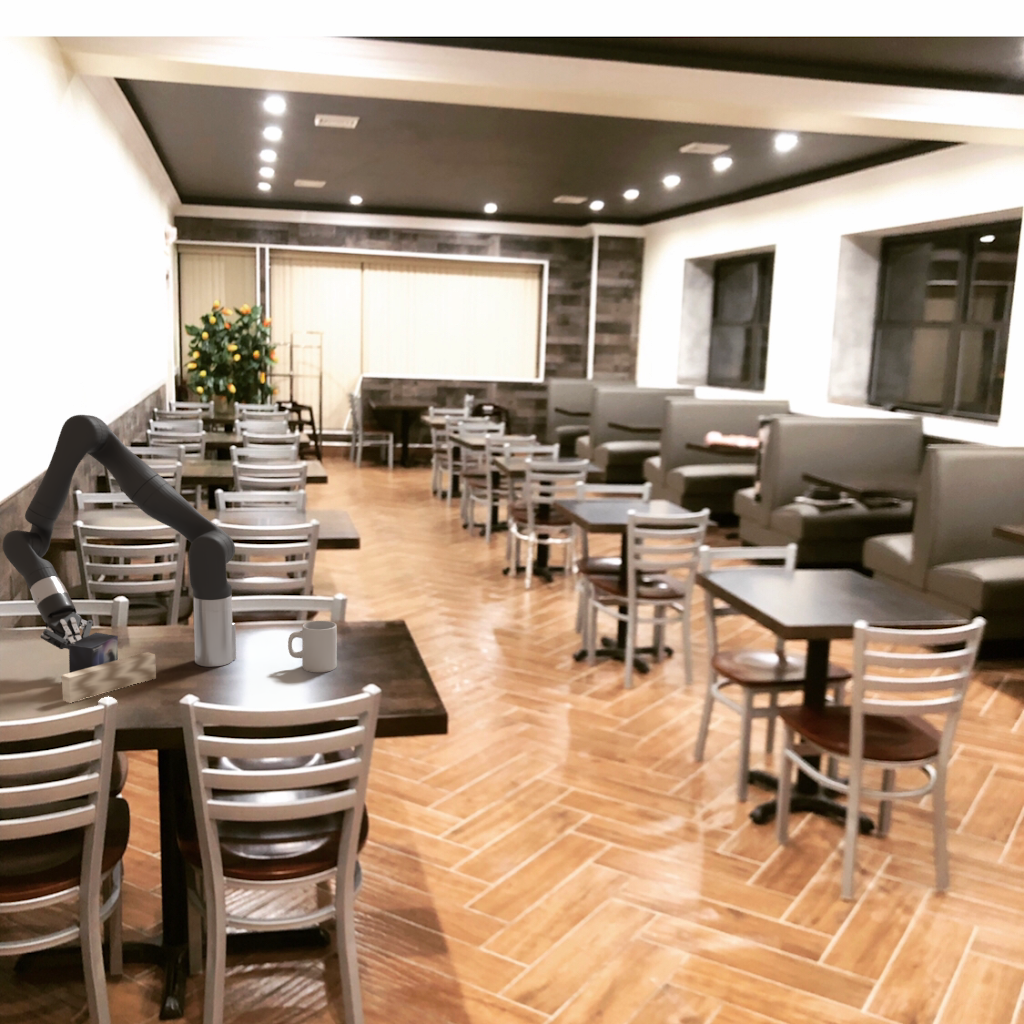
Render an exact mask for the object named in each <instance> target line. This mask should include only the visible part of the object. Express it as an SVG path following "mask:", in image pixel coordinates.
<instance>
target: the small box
mask: <svg viewBox="0 0 1024 1024" xmlns="http://www.w3.org/2000/svg"><path fill="white" fill-rule="evenodd" d="M118 639H119V637H118V635H114V634H107V633H101V632H94V633H92V634H89V636H87V637H85V638H83V639H80V640H78V641H76V642H73V643H71V644H69V650H68V652H69V653H68V656H69V657H68V658H69V659H68V660H69V661H68V662H69V663H68V664H69V668H68V669H69V672H68V673H71V672H75V671H78V670H82V669H86V668H90V667H93V666H97V665H101V664H104V663H108V662H112V661H116V660H119V654H118V653H119V649H118V648H119V647H118V645H119V644H118V643H119V641H118Z"/></svg>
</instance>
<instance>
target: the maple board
mask: <svg viewBox="0 0 1024 1024" xmlns="http://www.w3.org/2000/svg"><path fill="white" fill-rule="evenodd" d="M156 662H157V661H156V654H155V653H151V652H149V651H146V652H142V653H139V654H135V655H131V656H127V657H123V658H120V659H119V658H118V660H116V661H112V662H108V663H104V664H101V665H97V666H93V667H90V668H86V669H82V670H78V671H75V672H71V673H69V672H68V673H64V674H61V687H62V689H61V691H62V701H63V702H65V701H66V703H68V702H69V703H68V704H70V703H71V704H73V703H72V702H74V701H78V700H80V699H83V698H86V697H90V696H94V695H97V694H100V693H102V692H107V691H112V690H115V689H118V688H122V687H125V688H127V687H126V686H129V687H131V686H130V685H132V686H134V685H133V684H136V685H138V684H137V683H139V684H142V683H146V682H148V681H152V679H153V680H155V679H157V670H156V669H157V668H156V666H157V665H156ZM145 681H146V682H145ZM141 682H142V683H141ZM122 689H123V688H122ZM115 691H116V690H115ZM112 692H113V691H112ZM78 702H79V701H78ZM74 703H75V702H74Z"/></svg>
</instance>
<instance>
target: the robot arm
mask: <svg viewBox="0 0 1024 1024" xmlns="http://www.w3.org/2000/svg"><path fill="white" fill-rule="evenodd" d="M87 454H88V455H89V456H91V458H93V459H95V460H96V461H97V462H99V463H100V464H101V465H102V466H103V467H105V469H107V470H108V472H110V474H111V475H112V477H113V478H114V480H115V481H116V483H117V485H118V487H119V488H120V489H121V491H122V492H123V493H124V494H125V496H126V497H127V498H128V499H129V500H130V501H131V502H133V504H134V505H136V507H138V508H139V510H141V511H142V512H144V514H146V515H147V516H149V517H150V518H151V519H153V520H155V521H158V522H159V523H161V524H164V525H165V526H168V527H170V528H171V529H173V530H175V532H176V531H177V532H178V533H180V534H181V535H182V536H183V537H184V538H185V539H186V540H187V541H188V542H189V543H190V546H189V551H188V569H189V571H188V572H189V582H190V586H191V589H192V591H193V592H192V593H193V594H192V595H193V629H194V630H193V631H194V633H193V635H194V663H195V664H196V665H198V666H201V667H209V668H211V667H212V668H213V667H222V666H225V665H228V664H231V663H232V662H233V661H234V660H236V659H237V643H236V642H237V639H236V638H237V636H236V635H237V634H236V623H235V622H233V600H232V598H233V596H232V593H233V592H232V590H233V589H232V584H231V583H230V582H229V581H228V577H227V564H228V563H229V562H230V561H232V560H233V558H234V556H235V553H236V546H235V543H234V541H233V538H232V537H231V536H230V535H229V534H228V533H227V532H226V531H224V530H223V529H222V528H221V527H219V526H217V524H215V523H213V522H212V521H211V520H209V519H208V518H207V517H206V516H204V515H203V514H202V513H200V511H198V510H197V509H196V508H195V507H193V505H192V504H191V503H190V502H189V501H188V500H186V498H184V497H183V495H181V494H180V493H179V491H177V490H176V489H175V488H174V487H173V486H172V485H171V484H170V483H169V482H168V481H167V480H166V479H164V478H163V477H162V476H161V475H160V474H159V473H158V472H157V471H155V470H154V469H153V468H152V467H151V466H150V465H149V464H147V463H146V462H145V461H144V460H142V459H141V458H140V457H138V456H137V455H136V454H135V453H133V451H131V450H130V449H129V447H127V446H126V445H125V444H124V443H123V441H122V440H121V439H120V438H119V437H118V436H117V435H116V434H115V433H114V431H112V429H111V428H110V427H109V425H107V423H105V421H103V420H102V419H101V418H99V417H97V416H95V415H89V414H88V415H87V414H76V415H75V414H74V415H73V416H70V417H69V418H68V419H66V420H65V421H64V423H63V425H62V427H61V430H60V433H59V436H58V438H57V442H56V445H55V448H54V451H53V454H52V457H51V460H50V462H49V465H48V468H47V469H46V472H45V474H44V476H43V478H42V481H41V482H40V484H39V486H38V488H37V490H36V492H35V494H34V496H33V497H32V499H31V501H30V503H29V504H28V507H27V509H26V511H25V513H24V518H25V520H26V521H27V523H29V524H31V527H30V531H27V530H21V529H20V530H18V529H17V530H15V529H14V530H11V531H9V532H7V533H6V534H5V536H4V537H3V540H2V549H3V550H2V551H3V554H4V556H5V558H6V560H8V562H9V563H11V565H12V566H13V567H14V569H15V570H16V571H17V572H18V573H19V574H20V575H21V576H22V577H23V579H24V580H25V581H24V582H25V583H26V585H27V587H28V589H29V591H30V594H31V597H32V600H33V603H34V605H35V606H36V608H37V610H38V612H39V613H40V616H41V618H42V620H43V621H44V623H45V629H44V630H43V631H42V633H41V634H40V636H39V637H40V638H41V639H42V640H43V641H46V642H47V643H49V644H51V645H52V646H55V647H56V648H58V649H59V650H64V649H67V650H68V651H69V644H71V643H73V642H76V641H78V640H80V639H83V638H85V637H87V636H89V635H91V634H90V633H91V630H92V626H93V624H94V622H93V620H92V619H88V620H85V619H83V618H82V616H81V615H79V613H77V609H76V606H75V604H74V602H73V600H72V598H71V597H70V595H69V592H68V590H67V588H66V586H65V585H64V584H63V582H62V581H61V579H60V577H59V575H58V573H57V572H56V569H55V567H54V566H53V564H52V563H51V562H50V561H49V560H47V559H44V558H43V557H44V556H45V555H46V553H47V552H48V550H49V548H50V545H51V540H52V535H53V533H54V532H53V531H54V525H55V524H56V521H57V519H58V518H59V515H60V513H61V512H62V510H63V509H64V506H65V504H66V501H67V499H68V497H69V493H70V488H71V484H72V481H73V477H74V475H75V472H76V470H77V468H78V467H79V465H80V463H81V462H82V460H83V459H84V457H86V455H87ZM80 629H81V630H82V633H81V630H80Z"/></svg>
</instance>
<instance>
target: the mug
mask: <svg viewBox="0 0 1024 1024" xmlns="http://www.w3.org/2000/svg"><path fill="white" fill-rule="evenodd" d="M337 629H338V627H337V623H335V622H333V621H329V620H313V621H308V622H305V623H303V624H302V629H301V630H298V631H297V630H296V631H293V632H291V633H290V635H289V637H288V641H287V648H288V649H287V650H288V652H289V655H290V656H291V657H292V658H295V659H302V661H301V662H302V664H301V665H302V669H303V670H304V671H306V672H311V673H326V672H327V673H328V672H330V671H333V670H335V669H336V668H337V666H338V660H337V659H338V658H337V657H338V656H337V654H338V653H337V652H338V651H337V649H338V648H337V644H338V643H337V638H338V637H337V636H338V635H337V634H338V633H337V632H338V631H337ZM296 638H299V639H301V640H302V641H301V643H302V649H301V650H299V651H295V650H294V649H293V641H294V639H296Z"/></svg>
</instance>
